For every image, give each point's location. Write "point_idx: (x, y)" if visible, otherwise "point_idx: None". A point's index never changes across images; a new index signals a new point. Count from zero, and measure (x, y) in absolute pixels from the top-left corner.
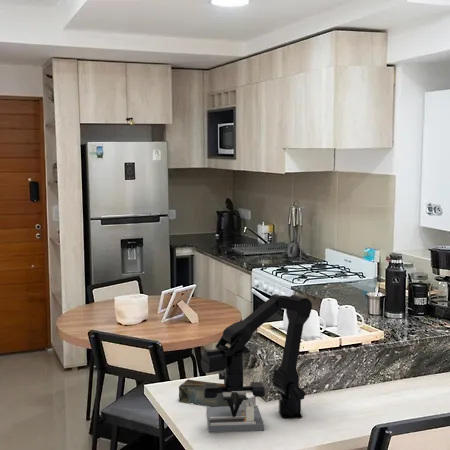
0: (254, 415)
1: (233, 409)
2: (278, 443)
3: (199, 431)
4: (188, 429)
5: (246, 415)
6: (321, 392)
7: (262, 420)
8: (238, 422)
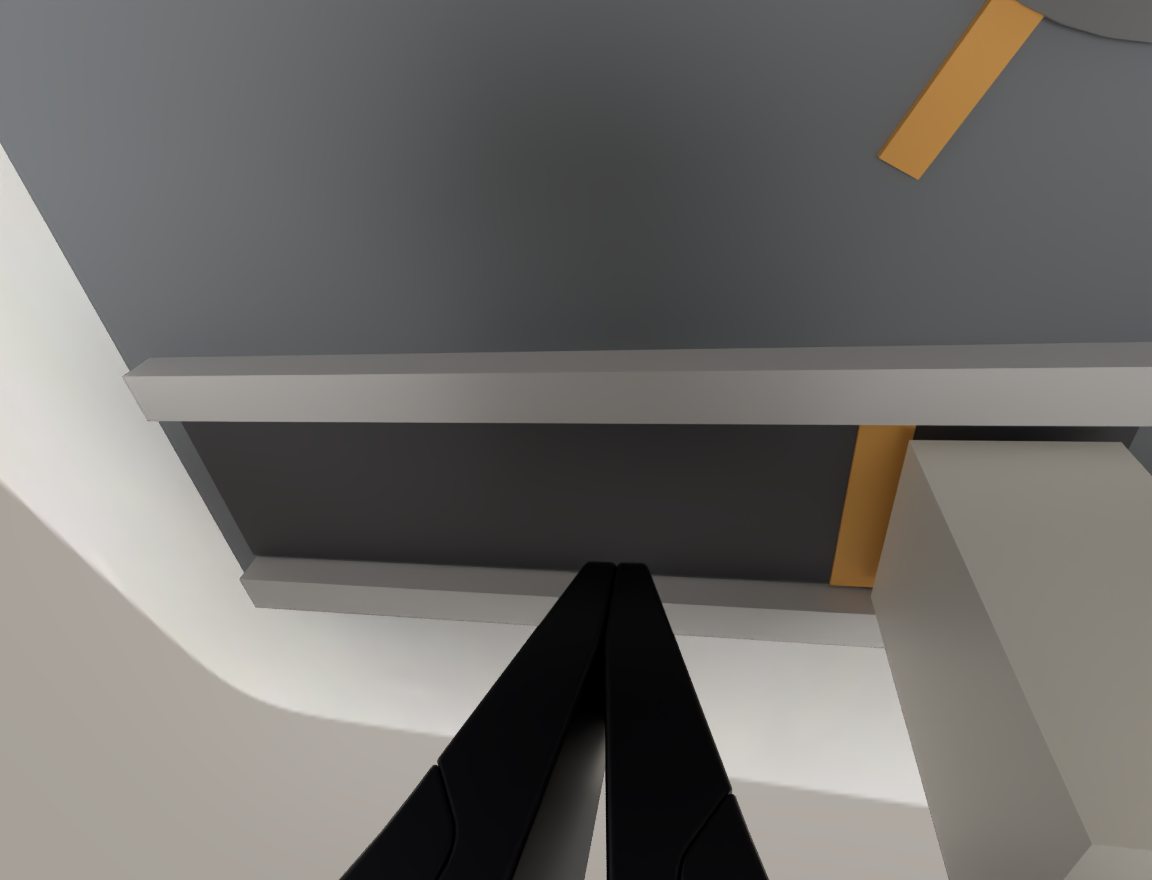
0: None
1: (578, 862)
2: None
3: (174, 485)
4: (11, 423)
5: (908, 711)
6: None
7: None
8: (705, 625)
